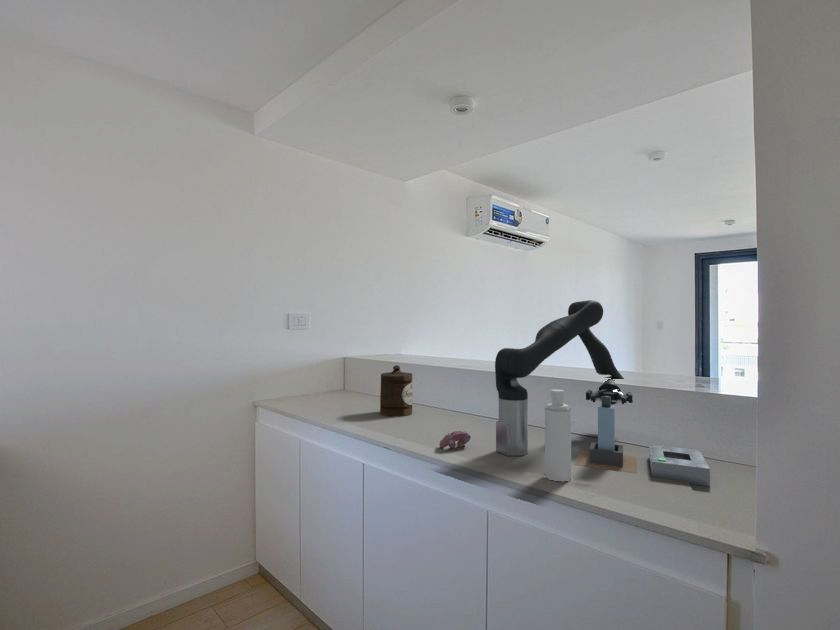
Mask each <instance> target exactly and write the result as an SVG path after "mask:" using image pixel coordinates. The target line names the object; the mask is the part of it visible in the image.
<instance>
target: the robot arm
mask: <svg viewBox="0 0 840 630" xmlns="http://www.w3.org/2000/svg"><path fill="white" fill-rule="evenodd" d="M603 316H604V307H603V306H602V303H600V302H598V301H597V300H591V299H589V300H581V301H574V302H572V303H571V304H569V306H568V310H567V316H563V317H560V318H556V319H554V320H552V321H551V322H549V323H547V324H546V325H544V326H543V327H541V328H540V329H539V330H538V331H537V333H536V335H535V339H534V341H533V343H531V344H530V345H528V346H526V347H523V348H511V347H510V348H509V347H508V348H507V347H505V348H501V349H499V350H498V352H497V354H496V357H495V362H494V372H495V388H496V391H497V392H498V393H497V396H498V421H496V422H495V450H496V452H498V453H500V454H502V455H505V456H507V457H510V456H513V457H516V456H517V457H518V456H525V455H527V454H528V453H529V448H528V447H529V443H528V442H529V439H528V438H529V429H528V427H529V426H528V425H529V422H528V421H529V420H528V418H529V416H528V415H529V414H528V413H529V408H528V407H529V406H528V405H529V404H528V401H529V400H528V395H529V394H528V390H527V388H525V387H524V386H522V385H521V384H520V383H519V382H518V379H522V378H526V377H528V376H529V375H530V374H531V373H533V372H534V371H535V370H536V369H537V368H538V367H539V366H540V365H541V364H542V363H543V362H544V361H545V360H546V359H548V358H549V357H550V356H552V355H553V354H554V353H555V352H557V351H558V350H560V349H562V347H564V346H566V345H567V344H568V343H569V342H571V341H572V340H573V339H575V338H576V337H577V336H578V337H579V338H580V340H581V342H582V343H583V345H584V346H585V349H586V350H587V352H588V354H589V356H590V359H591V363H592V365H593V367H594V370H595V372H596V374H598V375H601V376H606V377H604V378H611V379H608V380H607V381H605V382H604V383H603V384H602V385H601V386H600V387H599V390H598V389H597V390H595V392H593V390H591V389H588V390H587V391H586V392H585V400H586V401H591V402H592V403H596V402H601V396H610V397H611V406H614V405H617V404H619V403H621V405H625V404H627V402H628V403H630V404H632V403H633V397H634V396H633V393H632V392H631V391H629V392H626V393H625V394H623V393H624V392H621V390H620V388H619V387H618V386H617V385H616V384H615V382H614V381H615V380H613V379H625V378H624V377H623V376H622V374H621V373H620V372H619V370H618V369H617V367H616V366H615V363H614V361H613V358H612V355H611V353H610V350H608V348H607V346H606V345H605V344H604V343H603V342H602V341H601V340H600V339H599V338H598V337H596V335H595V334H594V333H593V332H592V331H591V328H592V327H594V326H595V325H597V324H598V323H600V322H601V321H602V319H603ZM617 389H619V390H617Z"/></svg>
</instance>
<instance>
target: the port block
mask: <svg viewBox="0 0 840 630" xmlns="http://www.w3.org/2000/svg"><path fill="white" fill-rule="evenodd" d="M648 459H649V465H650V472H651V477H653V478H661V479H669V480H676V481H683V482H688V483H689V484H690V485H695V486H703V487H711V468H710V466H709V465H708V463H707V461H706V460H705V459H706V458H705V457H704V455H703V453H702V452H701V450H700V449H692V448H685V447H684V448H682V447H675V446H674V447H673V446H666V445H665V446H663V445H655V444H648Z"/></svg>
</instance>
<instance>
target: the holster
mask: <svg viewBox="0 0 840 630" xmlns="http://www.w3.org/2000/svg"><path fill="white" fill-rule="evenodd" d="M637 464H638V463H637V456H631V455H624V445H623V444H616V443H615V451H610V450H601V449H598V441H596V442H595V441H591V443H590V447H589V449H588V450H582V449H580V451H579V453H578V457H577V460H576V461H575V466H579V467H587V468H595V469H602V470H609V471H618V472H622V473H623V472H624V473H630V474H631V473H632V474H638V465H637Z"/></svg>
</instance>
